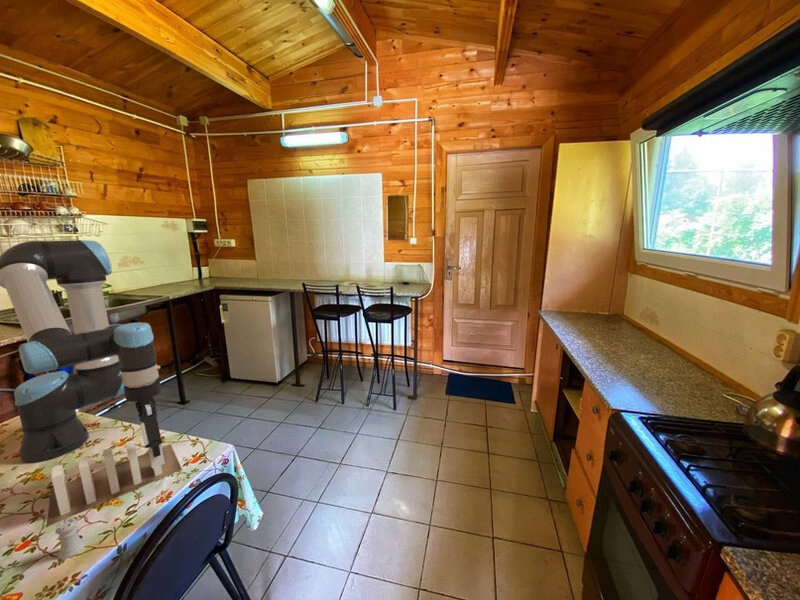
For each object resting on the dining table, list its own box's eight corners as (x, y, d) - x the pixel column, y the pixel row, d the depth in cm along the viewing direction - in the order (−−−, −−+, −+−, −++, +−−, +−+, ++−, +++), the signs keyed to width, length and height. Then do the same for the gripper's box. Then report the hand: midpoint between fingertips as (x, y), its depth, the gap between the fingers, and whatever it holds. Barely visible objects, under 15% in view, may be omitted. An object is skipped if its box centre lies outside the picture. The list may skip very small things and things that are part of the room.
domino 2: (87, 504, 79) (78, 468, 77) (86, 493, 83) (78, 458, 81) (96, 501, 80) (88, 465, 78) (95, 490, 84) (87, 455, 82)
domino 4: (134, 485, 85) (127, 451, 84) (132, 475, 89) (125, 442, 87) (141, 481, 87) (135, 448, 85) (139, 472, 90) (133, 439, 88)
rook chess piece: (69, 567, 66) (60, 534, 64) (52, 563, 66) (43, 530, 65) (93, 547, 70) (86, 515, 68) (77, 543, 71) (69, 512, 69)
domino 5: (155, 476, 88) (149, 443, 87) (152, 467, 92) (146, 435, 90) (162, 473, 90) (156, 440, 88) (159, 464, 93) (153, 432, 91)
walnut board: (47, 532, 74) (46, 526, 73) (51, 493, 85) (50, 488, 85) (182, 474, 91) (182, 469, 91) (171, 448, 103) (170, 444, 102)
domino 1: (60, 515, 76) (51, 478, 74) (61, 503, 80) (52, 467, 78) (70, 511, 77) (61, 474, 75) (70, 499, 81) (62, 464, 79)
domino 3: (111, 494, 82) (104, 459, 80) (110, 484, 86) (103, 450, 84) (119, 491, 83) (112, 456, 82) (118, 481, 87) (111, 447, 85)
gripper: (168, 393, 80) (179, 469, 84) (151, 364, 97) (162, 428, 101) (128, 404, 74) (143, 484, 79) (118, 371, 92) (131, 439, 96)
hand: (153, 453), depth 90 cm, fingers open, 13 cm apart
